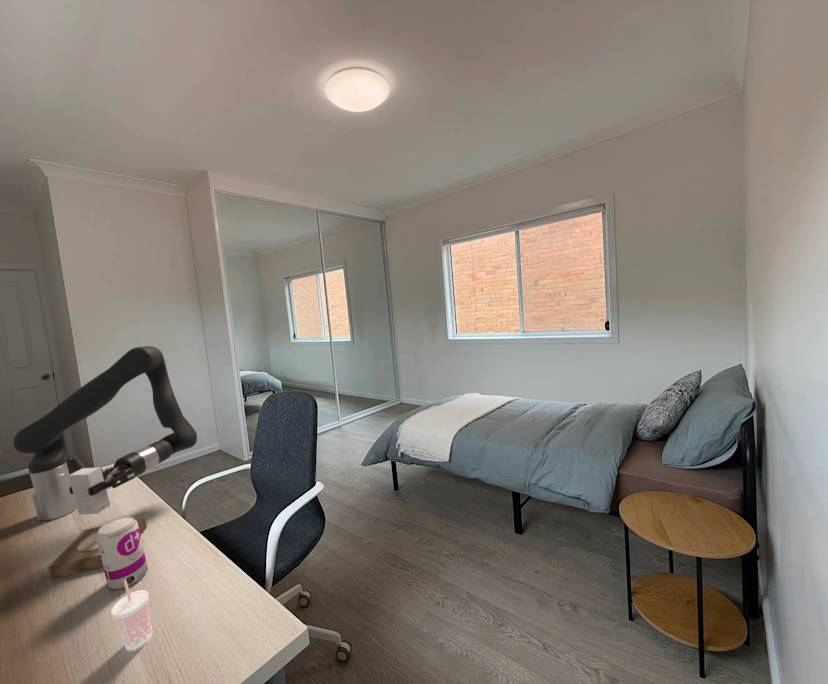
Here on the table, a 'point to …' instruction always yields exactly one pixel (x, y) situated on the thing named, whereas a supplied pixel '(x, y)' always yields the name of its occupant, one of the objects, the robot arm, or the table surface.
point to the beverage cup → (133, 618)
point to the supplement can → (121, 552)
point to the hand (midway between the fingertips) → (80, 491)
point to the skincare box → (80, 487)
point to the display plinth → (83, 553)
